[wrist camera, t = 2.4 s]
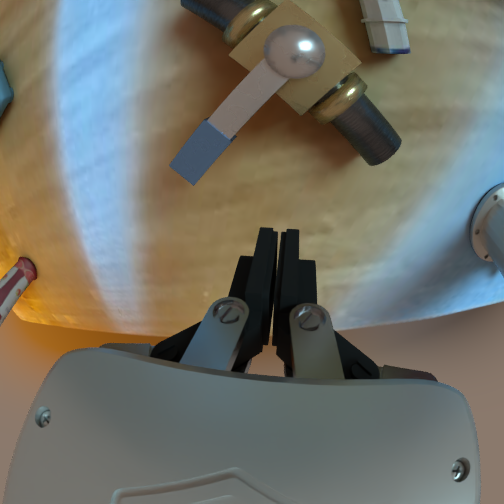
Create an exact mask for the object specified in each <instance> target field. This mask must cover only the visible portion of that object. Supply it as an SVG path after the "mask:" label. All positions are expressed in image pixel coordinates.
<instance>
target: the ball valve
mask: <svg viewBox="0 0 504 504" xmlns="http://www.w3.org/2000/svg"><path fill="white" fill-rule="evenodd" d="M181 6H182V7H184V8H186V9H188V10H189V11H191V12H193V13H194V14H196V15H198V16H199V17H201V18H203V19H204V20H206V21H208V22H209V23H211V24H212V25H214V26H215V27H217V28H218V29H220V30H221V31H223V32H224V33H223V36H222V41H223V42H224V43H226V44H227V45H229V46H230V47H231V48H233V50H232V52H231V53H230V54H229V56H230V57H231V58H233V59H234V60H235V61H237V62H238V63H239V64H241V65H242V66H243V67H245V68H246V69H247V70H248V71H250V72H251V71H252V70H253V69H254V68H255V67H256V66H257V65H258V64H259V63H260V62H261V61H262V60H263V59H264V58H265V57H264V44H265V41H266V39H267V37H268V36H269V35H270V34H271V32H273V31H274V30H276V29H277V28H279V27H282V26H285V25H300V26H304V27H307V28H309V29H311V30H312V31H314V32H315V33H316V34H317V35H318V36H319V37H320V38H321V40H322V42H323V44H324V47H325V60H324V63H323V65H322V66H321V68H320V69H319V70H318V71H317V72H316V73H314V74H313V75H311V76H308V77H305V78H300V79H293V78H290V79H289V80H288V81H287V82H286V83H285V84H284V85H283V86H282V87H281V88H280V89H279V90H278V91H277V92H276V94H277V95H279V96H280V97H281V98H282V99H283V100H284V101H285V102H286V103H288V104H289V105H290V106H291V107H292V108H293V109H294V110H295V111H296V112H297V113H298V114H299V115H301V116H302V115H303V114H304V113H305V112H306V111H307V110H308V109H309V108H310V107H311V108H310V110H309V113H310V114H311V115H312V116H313V117H314V118H315V119H316V120H317V121H318V122H319V123H320V124H321V125H324V124H326V123H328V122H331V123H332V124H333V125H334V126H335V128H336V129H337V130H338V131H339V132H340V133H341V134H342V135H343V136H344V137H345V138H346V139H347V140H348V142H349V143H350V144H351V145H352V146H353V147H354V148H355V149H356V151H357V152H358V153H359V154H360V155H361V156H362V157H363V159H364V160H365V161H366V162H367V163H368V164H369V165H371V166H374V165H378V164H380V163H382V162H384V161H386V160H387V159H389V158H390V157H391V156H392V155H394V154H395V152H396V151H397V150H398V149H399V147H400V145H401V141H402V140H401V138H400V137H399V135H398V134H397V133H396V131H395V130H394V129H393V128H392V126H391V125H390V124H389V122H388V121H387V120H386V119H385V117H384V116H383V115H382V114H381V113H380V111H379V110H378V109H377V108H376V107H375V105H374V104H373V103H372V102H371V101H370V100H369V99H368V97H367V96H366V95H365V94H364V92H365V90H366V89H367V84H366V83H365V82H364V81H363V80H362V79H361V78H360V77H359V76H358V75H357V74H356V73H355V72H352V73H350V72H351V71H353V70H354V69H355V68H356V67H357V66H359V65H360V64H361V63H362V62H361V61H360V60H359V59H358V58H357V57H356V56H355V55H354V54H353V53H352V52H351V51H350V50H349V49H348V48H347V47H346V46H344V45H343V44H342V43H341V42H340V41H339V40H338V39H337V38H336V37H335V36H334V35H332V34H331V33H330V32H329V31H328V30H327V29H326V28H324V27H323V26H322V25H321V24H320V23H318V22H317V21H316V20H315V19H314V18H312V17H311V16H310V15H309V14H307V13H306V12H305V11H303V10H302V9H301V8H299V7H298V6H297V5H295V4H294V3H293V2H291V1H290V0H285V1H284V2H283V3H282V4H280V5H279V6H277V5H276V4H274V3H273V2H271V1H270V0H256V1H255V0H181ZM349 73H350V74H349ZM348 74H349V75H348Z"/></svg>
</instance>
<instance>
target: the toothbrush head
mask: <svg viewBox="0 0 504 504" xmlns="http://www.w3.org/2000/svg"><path fill="white" fill-rule="evenodd" d="M359 1H360V5H361V9H362V13H363V17H364V19H361V23H365V25H366V29H367V33H368V37H369V42H370V46H371V51H372V52H373V53H386V54H409V53H411V52H410V46H409V41H408V36H407V31H406V26H405V23H408V20H407V19H404V18H403V14H402V11H401V8H400V5H399V1H398V0H359Z"/></svg>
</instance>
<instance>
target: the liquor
mask: <svg viewBox="0 0 504 504" xmlns="http://www.w3.org/2000/svg"><path fill="white" fill-rule="evenodd" d="M36 279H37V273H36V267H35V265H34V264H33V262H32V261H31V260H30V259H28V258H24V257H19V260H18V262H17V263H16V264H15V265H14V266H13V267H12V268H11V269H10V270H9V271H8V272H7V273H6V274H5V275H4V277H3V278H2V279H1V280H0V326H1V324H2V323H3V321H4V319H5V318H6V317H7V315H8V314H9V312H10V310H11V309H12V307H13V306H14V304H15V303H16V301H17V300H18V299H19V297H20V296H21V295H22V293H23V292H24V291H25V289H26V288H27V287H28V286H29V284H30V283H31V282H32V281H33V280H36Z"/></svg>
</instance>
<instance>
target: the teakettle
mask: <svg viewBox="0 0 504 504" xmlns="http://www.w3.org/2000/svg"><path fill="white" fill-rule="evenodd" d="M3 68H4V65H3V62H2V61H1V60H0V117H1V115H2V113H3V112H4V110H5V108H6V106H7V104H8V103H11V102H12V100H13V96H14V93H13V89H12V88H11V87H10V86H9V83H8V81H7V78H6V75H5V72H4V69H3Z"/></svg>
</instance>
